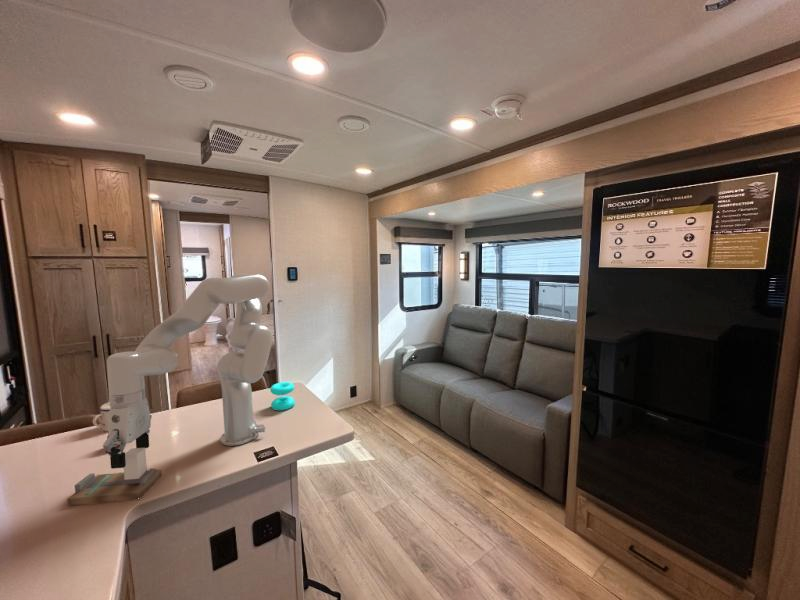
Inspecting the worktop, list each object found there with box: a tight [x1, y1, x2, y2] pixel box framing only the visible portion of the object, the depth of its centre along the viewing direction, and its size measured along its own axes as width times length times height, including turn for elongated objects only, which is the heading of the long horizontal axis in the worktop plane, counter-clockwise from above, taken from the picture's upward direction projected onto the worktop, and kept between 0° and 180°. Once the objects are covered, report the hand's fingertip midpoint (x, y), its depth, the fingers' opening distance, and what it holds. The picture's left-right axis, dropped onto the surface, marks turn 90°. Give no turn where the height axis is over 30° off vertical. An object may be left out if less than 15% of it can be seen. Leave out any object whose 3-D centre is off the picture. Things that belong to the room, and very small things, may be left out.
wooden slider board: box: [66, 467, 162, 507], centre depth 90 cm, size 17×10×4 cm, turn 98°
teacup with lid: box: [92, 401, 111, 432], centre depth 126 cm, size 12×9×12 cm
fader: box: [122, 447, 148, 484], centre depth 90 cm, size 4×4×9 cm
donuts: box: [269, 381, 296, 411], centre depth 144 cm, size 10×10×10 cm
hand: (131, 457), depth 90 cm, fingers open, 9 cm apart
